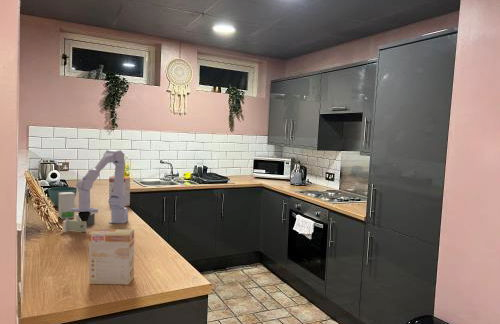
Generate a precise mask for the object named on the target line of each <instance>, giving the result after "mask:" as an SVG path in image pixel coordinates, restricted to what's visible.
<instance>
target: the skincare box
mask: <svg viewBox="0 0 500 324" xmlns="http://www.w3.org/2000/svg"><path fill="white" fill-rule="evenodd" d="M58 194H59V207H58V208H57V209H58V215H59V217H60V218H61V220H65V219H74V218H76V214H75V213H76V212H71V208H76V206H75V205H76V204H75V203H76V202H75V201H76V200H75V199H76V196H75V193H73V192H63V193H58ZM58 215H57V216H58ZM59 217H58V218H59ZM60 218H59V219H60Z"/></svg>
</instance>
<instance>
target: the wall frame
mask: <svg viewBox="0 0 500 324" xmlns="http://www.w3.org/2000/svg"><path fill="white" fill-rule="evenodd" d="M68 220H69V218H66V219H64V220H63V221H62V233H67V232H70V230H68ZM75 221H81V219H80V217H79V215H78V213H77V214H75Z"/></svg>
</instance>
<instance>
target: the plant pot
mask: <svg viewBox="0 0 500 324" xmlns="http://www.w3.org/2000/svg"><path fill="white" fill-rule="evenodd" d="M63 192H73V193H75V197H76V195H77V192H78V188H77V187H76V186H75V187H73V186H55V187H51V188H48V189H47V193H48V196H49V199H50V200H51V202H52V203H53V205H54V206H56V207H59V194H58V193H63Z"/></svg>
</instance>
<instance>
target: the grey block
mask: <svg viewBox="0 0 500 324" xmlns="http://www.w3.org/2000/svg"><path fill="white" fill-rule="evenodd" d="M95 214H96V213H92V212H91V214H90V215H89V217H88V220H87V225H86V226H92V225H93V224H95V223H96V221H95V217H96V216H95Z"/></svg>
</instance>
